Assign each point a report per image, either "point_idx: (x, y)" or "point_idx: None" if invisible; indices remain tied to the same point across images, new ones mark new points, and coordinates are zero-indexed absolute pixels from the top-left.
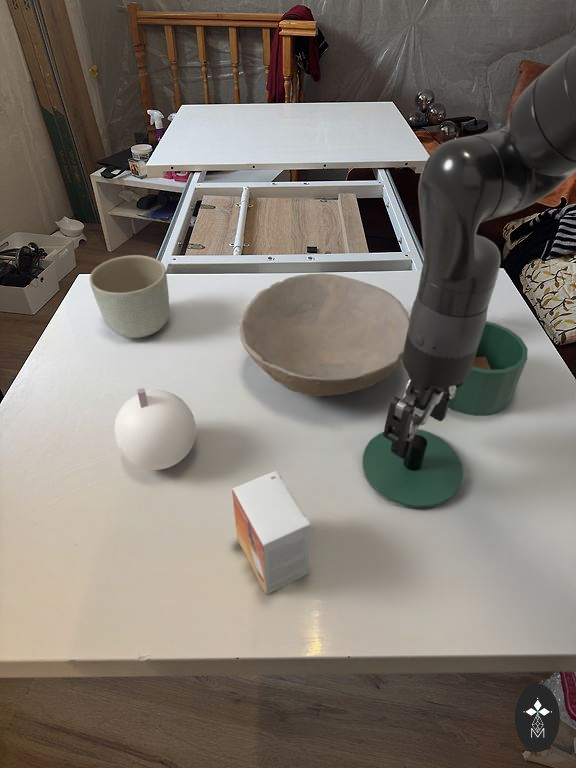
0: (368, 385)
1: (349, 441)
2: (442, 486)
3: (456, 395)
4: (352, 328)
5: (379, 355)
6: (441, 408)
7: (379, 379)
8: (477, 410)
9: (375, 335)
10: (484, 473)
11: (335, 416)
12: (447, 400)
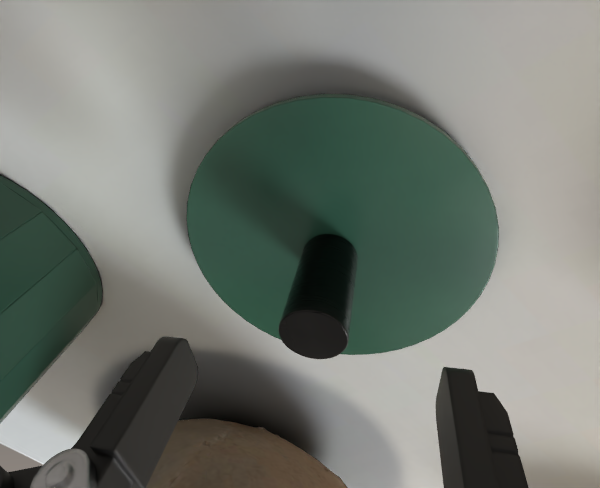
0: (251, 478)
1: (365, 369)
2: (340, 147)
3: (51, 289)
4: None
5: None
6: (153, 406)
7: (218, 484)
8: (28, 214)
9: None
10: (167, 65)
11: (326, 406)
12: (106, 452)
